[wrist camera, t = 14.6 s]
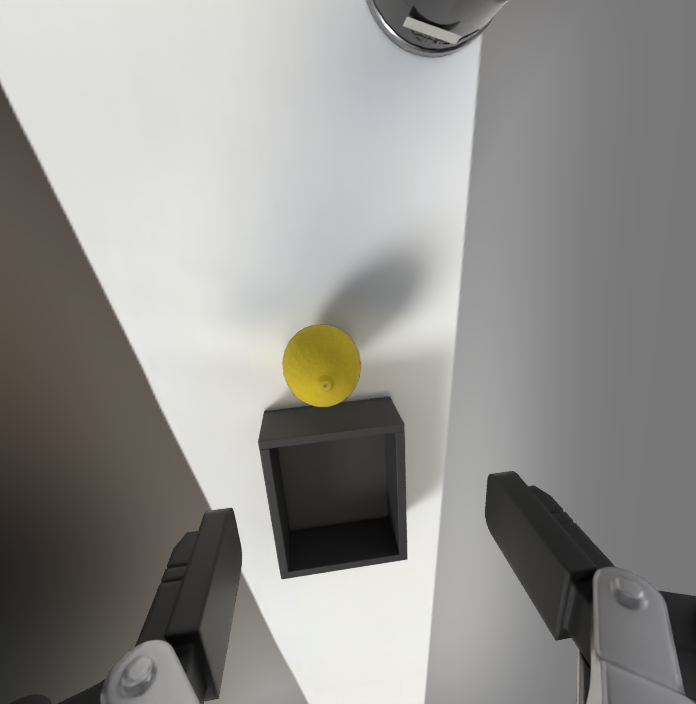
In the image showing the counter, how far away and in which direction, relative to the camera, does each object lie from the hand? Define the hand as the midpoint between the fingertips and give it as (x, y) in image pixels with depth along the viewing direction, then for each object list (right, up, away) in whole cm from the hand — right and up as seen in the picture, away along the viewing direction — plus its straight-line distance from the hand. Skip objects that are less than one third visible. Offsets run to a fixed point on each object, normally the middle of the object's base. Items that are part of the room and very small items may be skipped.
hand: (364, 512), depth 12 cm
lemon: (-3, +5, +19) cm, 20 cm away
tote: (-2, -6, +23) cm, 23 cm away
